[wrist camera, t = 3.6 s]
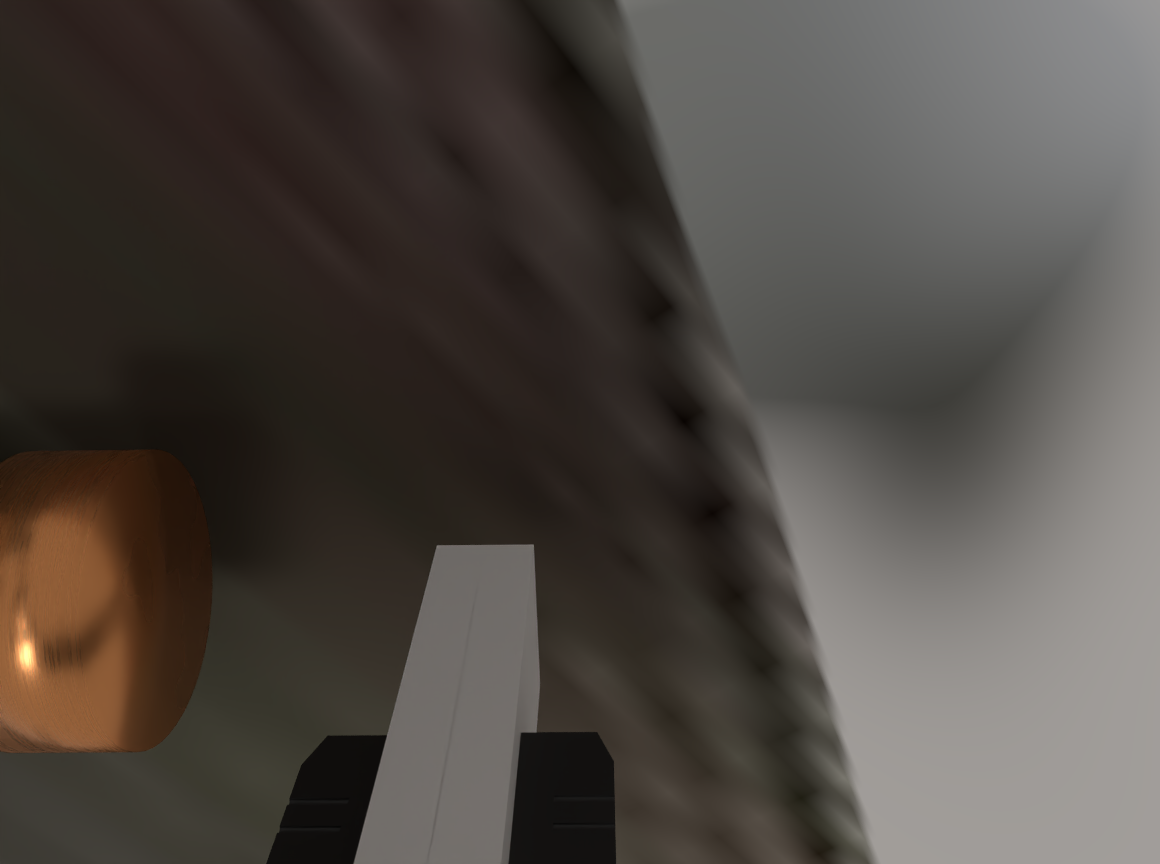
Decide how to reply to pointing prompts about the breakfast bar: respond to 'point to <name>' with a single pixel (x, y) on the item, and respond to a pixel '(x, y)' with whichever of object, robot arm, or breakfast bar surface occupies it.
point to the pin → (99, 599)
